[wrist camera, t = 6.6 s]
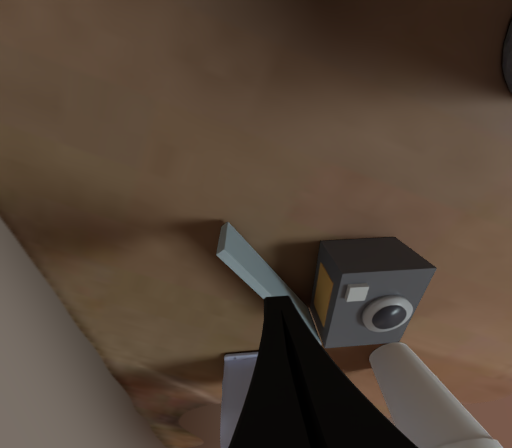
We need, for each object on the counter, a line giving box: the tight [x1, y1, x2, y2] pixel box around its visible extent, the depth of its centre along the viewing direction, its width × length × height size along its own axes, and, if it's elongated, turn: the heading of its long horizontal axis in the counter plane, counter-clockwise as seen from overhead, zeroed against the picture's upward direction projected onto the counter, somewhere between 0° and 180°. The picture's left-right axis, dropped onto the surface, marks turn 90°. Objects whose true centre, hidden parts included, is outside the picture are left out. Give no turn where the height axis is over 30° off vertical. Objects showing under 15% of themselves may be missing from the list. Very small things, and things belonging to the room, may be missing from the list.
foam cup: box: [369, 342, 503, 448], centre depth 25 cm, size 10×9×13 cm
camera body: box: [310, 237, 437, 348], centre depth 20 cm, size 8×10×6 cm
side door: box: [216, 222, 321, 345], centre depth 19 cm, size 1×15×4 cm, turn 37°
